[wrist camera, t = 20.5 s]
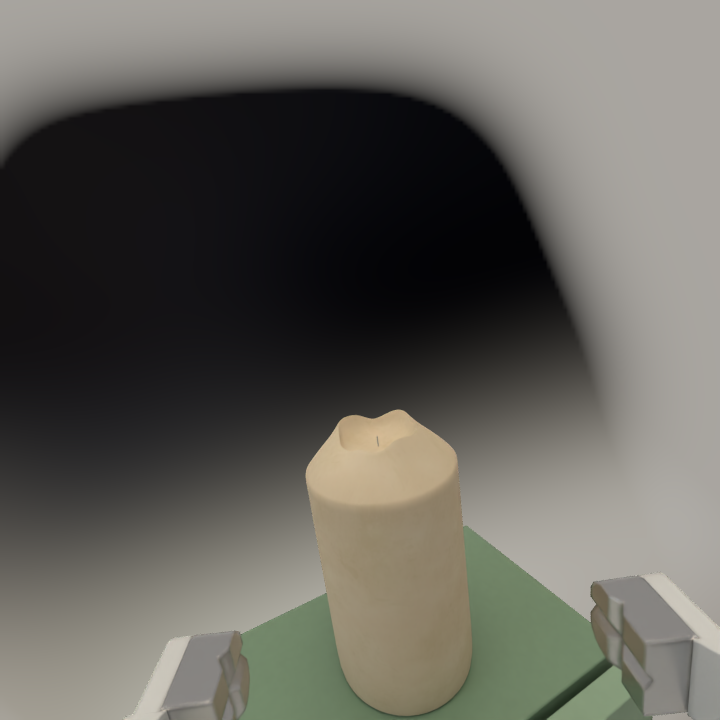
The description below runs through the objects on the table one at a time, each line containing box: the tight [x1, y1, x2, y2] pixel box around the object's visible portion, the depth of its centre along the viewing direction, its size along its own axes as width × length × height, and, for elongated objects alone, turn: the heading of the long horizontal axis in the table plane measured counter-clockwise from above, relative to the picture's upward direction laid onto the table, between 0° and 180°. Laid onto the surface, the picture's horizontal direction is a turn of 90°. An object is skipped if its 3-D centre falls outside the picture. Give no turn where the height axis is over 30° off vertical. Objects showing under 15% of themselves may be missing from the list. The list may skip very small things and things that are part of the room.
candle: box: [306, 410, 472, 716], centre depth 16 cm, size 6×6×10 cm
